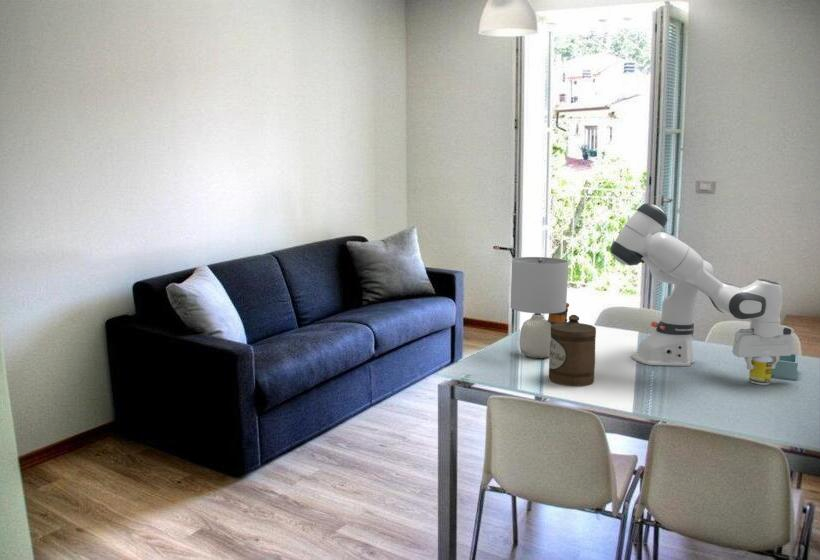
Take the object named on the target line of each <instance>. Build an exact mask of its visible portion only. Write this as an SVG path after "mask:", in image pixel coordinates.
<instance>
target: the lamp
mask: <svg viewBox="0 0 820 560" xmlns="http://www.w3.org/2000/svg"><path fill="white" fill-rule="evenodd" d="M568 272H569V260H567V259H563V258H557V257H556V258H555V257H545V256H522V257H521V256H519V257H513V258H512V260H511V285H510V286H511V287H510V307H509V308H510V309H511V310H514V311H517V312H521V313H528V314H532V315H531V317H530V318H529V319H528V318H527V320H525V321H524V322H523V323H522V325H521V327H520V328H521V329H520V332H519V349H520V352H521V353H522V354H523V355H524V356H525V357H527V358H532V359H545V358H546V357H549V355H550V339H551V323H550V322H548V321H547V320H548V319H547V320H546V319H545V317H544V315H543V314H546V315H549V314H551V313H560V312H564V311H566V303H567V294H568V276H569V273H568Z"/></svg>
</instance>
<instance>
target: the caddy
mask: <svg viewBox="0 0 820 560" xmlns="http://www.w3.org/2000/svg"><path fill="white" fill-rule="evenodd" d="M770 357H771V358H772V356H770ZM772 359H773V358H772ZM798 362H799V354H797V353H792V354H791V355H790V356H780V358H779V360H778V362H777V363H776V366H775V369H772V372H771V378H774V379H780V380H781V379H783V380H788V381H789V380H790V381H797V374H798V364H799V363H798Z"/></svg>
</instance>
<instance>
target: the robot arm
mask: <svg viewBox="0 0 820 560" xmlns="http://www.w3.org/2000/svg"><path fill="white" fill-rule="evenodd" d="M667 222H668V216H667V214H666V213H665V212H664V210H663V209H662V208H661V207H660V206H657V205H655V204H651V203H643V204H642V205H640V206H639V207H638V208H637V209H636V212H635V213H633V214H632V216H631V217H630V218H629V219H628V220H627V222H626V223H625V224H624V226H623V227H622V229H621V230H620V232H619V234H618V236H617V237H616V239H615V240H614V241H613V242H612V244H611V246H610V253H611V254H612V256H613V258H614V259H615V260H616V261H617V262H618V263H619V264H623V265H627V266H630V267H631V266H637V265H638V264H640V263H642V264H646V265H647V266H648V267H649V273H650V275H651V277H653V278H654V279H656V280H657V281H660V282H663V283H665V284H672V285H673V289H672V292H671V293H670V295H667V296H666V297H665V298H664V299H663V300H662V304H661V318H660V320H659V322H656V321H653V320H652V322H651V323H650V325H651V327H653V328H656V329H655V331H654V332H652V333H651V334H649V335H648V336H646V337H645V338H643V339H642V340H641V341H640V342H639V345H638V349H637V352H633V353H631V359H633V360H634V361H637V362H638V363H641V364H644V365H648V366H672V367H673V366H678V367H680V366H685V367H689V366H691V364H693V363H695V362H696V361H695V356H694V350H693V349H694V348H693V347H694V345H693V337H694V331H695V327H694V326H695V323H694V315H695V306H696V303H697V300H698V297H699V295H700V294H701V292H702V293H703V294H705V295H706V296H707V297H708V299H709V300H710V302H711V304H712V305H713V307H714V308H715V310H717V311H719V312H720V313H722V314H726V315H728V316H730V317H733V318H735V319H737V320H747V319H750V324H749V328H746V329H745V328H740V329H739V330H738V331H737V332H735V333H734V334H735V335H734V340H733V345H732V354H733V356H735V357H738V358H744V361H745V363H746V369H747V370H749V371H750V370H754V365H753V364H752V363H751V360H752V357H762V356H763V355H764V354H762V352H763V350H770V354H768V355H769V356H772V358H773V362H772V369H775V366H776V363H777V362H778V360H779V358H780V356H790V355H791V354H794V346H795V345H794V342H795V341H794V340H795V339H794V336H793V335H794V334H795V333H794V332H795V329H793V328H792V327H789V326H787V325H785V324H781V317H780V315H781V311H782V307H783V288H782V285H781V284H780V283H779V282H777V281H774V280H770V279H764V278H758V279H756V280H755V281H754V282H752V283H750V284H749V285H746V286H742V287H739V286H736V285H734V284H731V283H727V282H726V283H725V282H722V281H720V280H719V279H718V278H716V277H715V276H714V274H715V273H714V267H713V265H712V264H711V263H710V262H709V261H707V260H704V259H703V258H702V256H701V255H700V254H699V253H698V252H697V251H696V250H695V249H693V248H692V247H691V246H689V245H688V244H687V243H685V242H684V241H682V240H680V239H678V238H677V237H675V236H673V235H671V234H668V233H666V232H663V231H662V230H663V229H664V228H666V225H667Z"/></svg>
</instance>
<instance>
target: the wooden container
mask: <svg viewBox="0 0 820 560" xmlns="http://www.w3.org/2000/svg"><path fill="white" fill-rule="evenodd" d="M568 320H569V321H567V322H564V323H555V324H552V325H551V339H550V355H549V356H548V359H549V360H548V380H549V381H551V382H552V383H555V384H557V385H558V384H559V385H562V386H570V387H584V386H588V385H592V384H593V383H594V381H595V370H596V369H595V368H596V366H595V365H596V338H597V337H596V336H597V328H596V327H595V326H594V325H591V324H586V323H582V322H581V323H580V322H579V320H580V318H579V316H578V315H577V314H570V315H569V316H568Z"/></svg>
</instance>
